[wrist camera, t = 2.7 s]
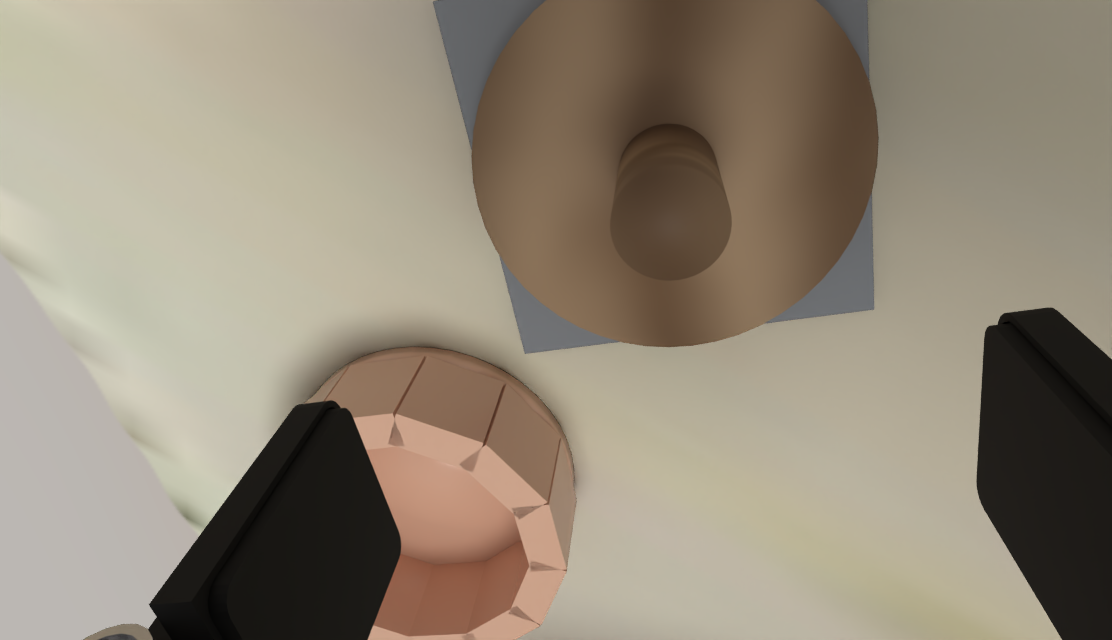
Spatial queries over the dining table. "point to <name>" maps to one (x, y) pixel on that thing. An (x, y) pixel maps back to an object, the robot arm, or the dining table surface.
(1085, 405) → the robot arm
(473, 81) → the mat
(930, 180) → the dining table surface
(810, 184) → the lid
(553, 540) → the bowl
